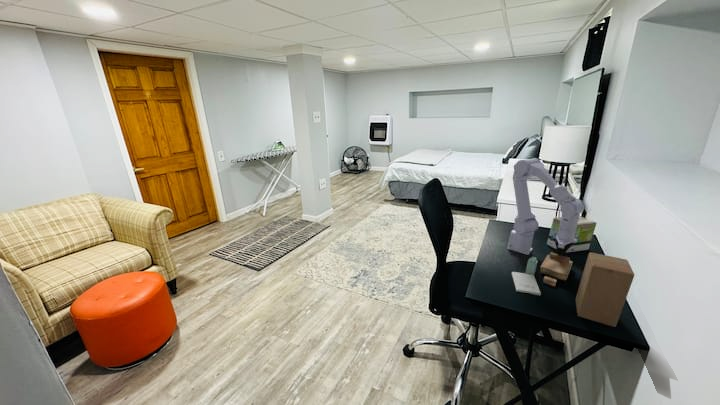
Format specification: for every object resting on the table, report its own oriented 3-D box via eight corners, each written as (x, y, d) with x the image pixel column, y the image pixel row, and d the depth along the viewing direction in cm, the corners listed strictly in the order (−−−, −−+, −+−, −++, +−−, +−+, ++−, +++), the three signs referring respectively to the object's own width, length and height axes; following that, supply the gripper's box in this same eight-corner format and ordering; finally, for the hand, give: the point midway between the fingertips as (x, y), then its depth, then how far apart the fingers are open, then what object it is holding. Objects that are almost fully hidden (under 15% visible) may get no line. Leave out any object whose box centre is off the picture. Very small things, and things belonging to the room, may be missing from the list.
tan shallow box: (535, 279, 115) (537, 272, 114) (546, 261, 128) (548, 254, 127) (562, 289, 109) (564, 281, 108) (570, 268, 122) (572, 261, 121)
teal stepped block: (524, 273, 119) (527, 259, 117) (527, 269, 122) (530, 255, 120) (532, 276, 117) (536, 262, 115) (535, 272, 120) (538, 258, 118)
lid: (540, 267, 117) (541, 262, 116) (546, 256, 125) (548, 251, 124) (566, 276, 111) (568, 270, 110) (571, 263, 119) (573, 258, 118)
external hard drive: (533, 278, 117) (540, 296, 106) (511, 274, 120) (516, 292, 109) (534, 274, 117) (541, 293, 106) (511, 271, 119) (516, 289, 108)
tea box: (564, 254, 133) (571, 225, 128) (546, 244, 143) (552, 217, 138) (589, 250, 137) (597, 221, 132) (570, 240, 146) (577, 214, 141)
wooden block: (616, 328, 90) (635, 274, 84) (577, 316, 95) (592, 265, 89) (610, 309, 98) (627, 259, 92) (575, 299, 103) (589, 251, 97)
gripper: (576, 236, 110) (568, 267, 114) (581, 225, 120) (574, 253, 124) (555, 231, 114) (548, 261, 119) (561, 220, 124) (555, 248, 129)
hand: (560, 256), depth 122 cm, fingers closed
